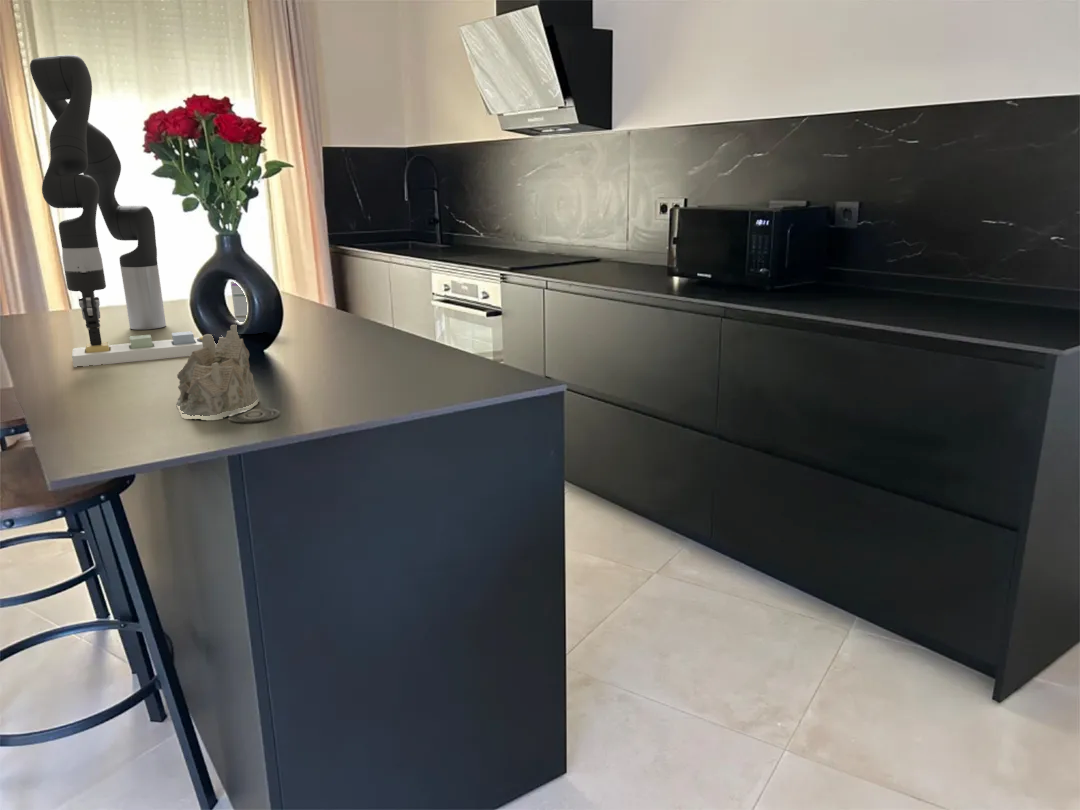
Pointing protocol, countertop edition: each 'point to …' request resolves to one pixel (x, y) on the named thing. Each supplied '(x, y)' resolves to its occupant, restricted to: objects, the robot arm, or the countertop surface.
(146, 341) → the sage button
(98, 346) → the ochre button
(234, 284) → the syrup box
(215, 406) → the ceramic cottage
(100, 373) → the countertop surface
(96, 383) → the countertop surface
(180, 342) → the slate button
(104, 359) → the button panel
